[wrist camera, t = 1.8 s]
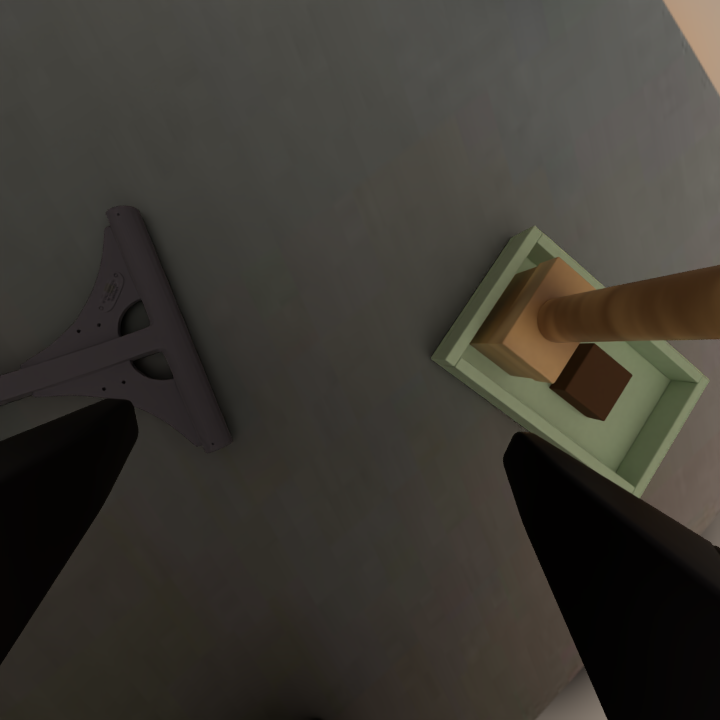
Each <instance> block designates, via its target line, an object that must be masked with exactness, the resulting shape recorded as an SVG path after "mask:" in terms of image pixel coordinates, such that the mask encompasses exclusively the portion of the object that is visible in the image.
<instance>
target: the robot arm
mask: <svg viewBox="0 0 720 720" xmlns="http://www.w3.org/2000/svg"><path fill="white" fill-rule="evenodd" d="M137 437H138V425H137V420H136V415H135V411H134V406H133V404H132V402H131V401H129V400H127V399H115V398H109V399H105V400H102V401H100V402H97V403H95V404H92V405H90V406H87V407H85V408H82V409H80V410H77V411H75V412H72V413H70V414H67V415H65V416H62V417H60V418H57V419H55V420H52V421H50V422H47V423H45V424H42V425H40V426H37V427H35V428H32V429H30V430H27V431H25V432H22V433H20V434H17V435H15V436H12V437H10V438H7V439H5V440H2V441H0V665H1V663H2V662H3V660H4V659H5V657H6V656H7V654H8V652H9V651H10V649H11V648H12V646H13V645H14V643H15V642H16V640H17V638H18V637H19V635H20V634H21V632H22V631H23V629H24V628H25V626H26V625H27V623H28V621H29V620H30V618H31V617H32V615H33V614H34V612H35V611H36V609H37V608H38V606H39V604H40V603H41V601H42V600H43V598H44V597H45V595H46V594H47V592H48V590H49V589H50V587H51V586H52V584H53V583H54V581H55V580H56V578H57V577H58V575H59V573H60V572H61V570H62V569H63V567H64V566H65V564H66V563H67V561H68V559H69V558H70V556H71V555H72V553H73V552H74V550H75V549H76V547H77V546H78V544H79V542H80V541H81V539H82V538H83V536H84V535H85V533H86V532H87V530H88V528H89V527H90V525H91V524H92V522H93V521H94V519H95V518H96V516H97V514H98V513H99V511H100V510H101V508H102V506H103V505H104V503H105V501H106V499H107V497H108V495H109V493H110V492H111V490H112V488H113V486H114V484H115V482H116V480H117V478H118V476H119V474H120V472H121V470H122V468H123V466H124V464H125V462H126V460H127V458H128V456H129V454H130V452H131V450H132V448H133V446H134V444H135V442H136V440H137ZM503 464H504V468H505V471H506V474H507V477H508V480H509V483H510V486H511V489H512V492H513V495H514V498H515V501H516V505H517V508H518V511H519V514H520V516H521V519H522V522H523V525H524V527H525V530H526V532H527V535H528V537H529V539H530V541H531V544H532V546H533V548H534V551H535V553H536V555H537V558H538V560H539V562H540V565H541V567H542V569H543V572H544V574H545V576H546V578H547V581H548V583H549V585H550V588H551V590H552V592H553V595H554V597H555V599H556V602H557V604H558V606H559V608H560V611H561V613H562V615H563V618H564V620H565V622H566V625H567V627H568V629H569V632H570V634H571V636H572V639H573V641H574V643H575V645H576V648H577V650H578V652H579V655H580V657H581V659H582V662H583V664H584V666H585V669H586V671H587V673H588V676H589V678H590V680H591V682H592V685H593V687H594V689H595V692H596V694H597V696H598V698H599V701H600V703H601V706H602V708H603V710H604V713H605V715H606V717H607V719H608V720H720V548H719V547H717V546H713V545H712V544H711V542H709V541H708V540H706V539H704V538H703V537H701V536H700V535H698V534H696V533H695V532H693V531H691V530H690V529H688V528H687V527H685V526H683V525H682V524H680V523H679V522H677V521H675V520H674V519H672V518H670V517H669V516H667V515H666V514H664V513H662V512H661V511H659V510H657V509H656V508H654V507H653V506H651V505H649V504H648V503H646V502H645V501H643V500H641V499H640V498H638V497H636V496H635V495H633V494H632V493H630V492H628V491H627V490H625V489H624V488H622V487H620V486H619V485H617V484H615V483H614V482H612V481H611V480H609V479H607V478H606V477H604V476H602V475H601V474H599V473H598V472H596V471H594V470H593V469H591V468H590V467H588V466H586V465H585V464H583V463H581V462H580V461H578V460H577V459H575V458H573V457H572V456H570V455H569V454H567V453H565V452H564V451H562V450H560V449H559V448H557V447H556V446H554V445H552V444H551V443H549V442H547V441H546V440H544V439H543V438H541V437H539V436H538V435H536V434H534V433H530V432H517V433H515V434H514V435H513V437H512V439H511V441H510V443H509V445H508V447H507V450H506V452H505V454H504V457H503Z"/></svg>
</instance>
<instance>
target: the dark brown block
mask: <svg viewBox="0 0 720 720" xmlns="http://www.w3.org/2000/svg"><path fill="white" fill-rule="evenodd" d="M632 376H633V375H632V374H631V373H630V372H629V371H628V370H626V369H625V368H624V367H623V366H622V365H620V364H619V363H618V362H617V361H616V360H614V359H613V358H612V357H611V356H610V355H608V354H607V353H606V352H605V351H604V350H602V349H601V348H600V347H599V346H598V345H596V344H595V343H579V345H578V347H577V348H576V350H575V351H574V353H573V354H572V356H571V358H570V359H569V361H568V362H567V364H566V366H565V367H564V369H563V370H562V372H561V373H560V375H559V377H558V378H557V380H556V381H555V383H552V384H551V385H550V387H549V388H550V389H551V390H552V391H554V392H555V393H556V394H557V395H559V396H560V397H561V398H563V399H564V400H565V401H566V402H568V403H569V404H570V405H572V406H573V407H574V408H575V409H577V410H578V411H579V412H581V413H582V414H583V415H584V416H586V417H588V418H592V419H596V420H601V421H605V420H606V418H607V416H608V415H609V413H610V412H611V410H612V408H613V407H614V405H615V403H616V402H617V400H618V399H619V397H620V395H621V394H622V392H623V390H624V389H625V387H626V386H627V384H628V382H629V381H630V379H631V377H632Z"/></svg>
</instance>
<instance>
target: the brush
mask: <svg viewBox="0 0 720 720" xmlns="http://www.w3.org/2000/svg"><path fill="white" fill-rule="evenodd" d="M704 339H720V265H717V266H712V267H707V268H702V269H697V270H692V271H687V272H682V273H677V274H672V275H667V276H662V277H657V278H652V279H647V280H642V281H637V282H632V283H627V284H622V285H617V286H612V287H607V288H602V289H595V288H594V287H593V286H592V285H591V284H590V283H589V282H587V281H586V280H585V279H584V278H583V277H582V276H581V275H579V274H578V273H577V272H576V271H575V270H574V269H573V268H571V267H570V266H569V265H568V264H567V263H566V262H565V261H563V260H562V259H561V258H560V257H556V258H553V259H550V260H548V261H545V262H542V263H540V264H539V265H538V266H537V267H534V268H531V269H528V270H526V271H523V272H520V273H517V274H515V275H514V277H513V278H512V280H511V281H510V283H509V284H508V286H507V287H506V289H505V290H504V292H503V293H502V295H501V296H500V298H499V299H498V301H497V303H496V304H495V306H494V307H493V309H492V310H491V312H490V313H489V315H488V316H487V318H486V319H485V321H484V322H483V324H482V325H481V327H480V328H479V330H478V331H477V333H476V334H475V336H474V337H473V339H472V340H471V342H470V343H469V344H470V345H471V346H472V347H474V348H475V349H476V350H478V351H479V352H480V353H482V354H483V355H484V356H486V357H487V358H488V359H489V360H491V361H492V362H493V363H495V364H496V365H497V366H499V367H500V368H501V369H503V370H504V371H505V372H506V373H508V374H509V375H510V376H516V377H524V378H531V379H533V380H535V381H539V382H546V383H555V381H556V380H557V378H558V377H559V375H560V373H561V372H562V370H563V369H564V367H565V366H566V364H567V362H568V361H569V359H570V358H571V356H572V354H573V353H574V351H575V350H576V348H577V347H578V345H579V343H580V342H614V341H659V340H704Z"/></svg>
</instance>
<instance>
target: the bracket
mask: <svg viewBox="0 0 720 720" xmlns="http://www.w3.org/2000/svg"><path fill="white" fill-rule="evenodd" d="M106 216H107V218H108V221H109V223H110V226H108V227H105V230H104V244H103V254H102V260H101V265H100V269H99V273H98V277H97V280H96V283H95V285H94V288H93V290H92V292H91V295H90V297H89V299H88V300H87V302H86V304H85V306H84V308H83V309H82V311H81V313H80V314H79V316H78V318H77V319H76V321H75V322H74V323H73V324H72V325H71V326H70V327H69V328H68V329H67V330H66V331H65V332H64V333H63V334H62V335H61V336H60V337H59V338H58V339H56V340H55V341H54V342H53V343H52V344H50V345H49V346H48V347H47V348H45V349H44V350H42V351H41V352H39V353H38V354H36V355H35V356H33V357H32V358H30V359H28V360H27V361H25V362H24V363H22V364H21V365H20V368H21V369H20V370H17V371H14V372H10V373H7V374H4V375H0V406H1V405H4V404H7V403H10V402H13V401H16V400H19V399H22V398H25V397H28V396H31V395H33V396H34V397H47V396H63V395H80V396H92V397H101V398H115V399H127V400H129V401H131V402H132V404H133V406H134V407H137V408H139V409H142V410H144V411H146V412H148V413H150V414H152V415H154V416H156V417H158V418H160V419H161V420H163V421H165V422H166V423H168V424H169V425H171V426H172V427H173V428H175V429H176V430H177V431H179V432H180V433H181V434H182V435H184V436H185V437H186V438H187V439H188V440H189V441H190V442H192V443H193V444H194V445H195V446H201V445H202V446H203V448H204V450H205V453H211V452H214V451H216V450H219V449H221V448H223V447H225V446H227V445H228V444H230V443H231V442H232V441H233V439H232V437H231V434H230V432H229V430H228V427H227V425H226V422H225V420H224V417H223V415H222V412H221V410H220V407H219V405H218V403H217V400H216V398H215V395H214V393H213V390H212V388H211V385H210V383H209V380H208V378H207V376H206V373H205V371H204V368H203V366H202V363H201V361H200V358H199V356H198V354H197V351H196V349H195V346H194V344H193V341H192V339H191V336H190V334H189V331H188V329H187V327H186V324H185V322H184V319H183V317H182V314H181V312H180V309H179V307H178V304H177V302H176V300H175V297H174V295H173V292H172V290H171V287H170V285H169V282H168V280H167V277H166V275H165V273H164V270H163V268H162V265H161V263H160V260H159V258H158V255H157V253H156V251H155V248H154V246H153V243H152V241H151V238H150V236H149V233H148V231H147V228H146V226H145V224H144V221H143V219H142V216H141V214H140V211H139V210H138V209H137V208H134V207H131V206H116V207H112V208H110V209H109V210H108V211H107V212H106ZM140 300H142V302H143V305H144V307H145V310H146V312H147V315H148V318H149V321H150V325H149V326H148V327H147V328H144V329H141V330H138V331H136V332H133V333H130V334H127V335H124V336H122V335H121V321H122V318H123V316H124V314H125V312H126V311H127V310H128V309H129V308H130V307H131V306H132V305H134V304H135V303H137V302H138V301H140ZM100 325H101V326H100ZM80 331H81V332H80ZM158 352H162V353H163V355H164V357H165V359H166V361H167V363H168V365H169V367H170V369H171V372H172V374H173V376H174V378H173V379H167V380H160V379H154V378H151V377H148V376H146V375H145V374H143V373H142V372H140V371H139V370H138V369H137V368H136V367H135V365H134V363H133V361H134V360H137V359H140V358H143V357H146V356H149V355H152V354H155V353H158ZM125 381H126V383H125ZM105 388H106V389H105Z"/></svg>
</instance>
